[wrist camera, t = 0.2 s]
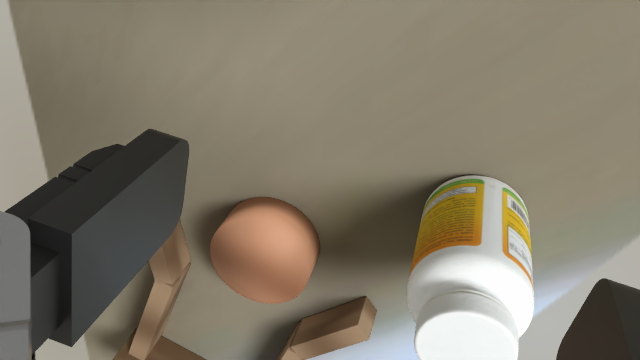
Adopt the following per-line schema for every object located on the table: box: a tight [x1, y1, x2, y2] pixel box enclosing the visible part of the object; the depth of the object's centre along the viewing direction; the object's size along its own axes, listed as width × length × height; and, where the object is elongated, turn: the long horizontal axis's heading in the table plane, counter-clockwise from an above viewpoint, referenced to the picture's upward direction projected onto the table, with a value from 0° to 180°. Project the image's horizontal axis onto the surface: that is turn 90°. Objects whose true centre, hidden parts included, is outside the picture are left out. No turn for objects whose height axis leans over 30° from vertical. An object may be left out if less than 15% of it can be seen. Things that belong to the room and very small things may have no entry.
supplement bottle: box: [407, 175, 534, 360], centre depth 27 cm, size 5×5×10 cm
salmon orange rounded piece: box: [210, 197, 320, 304], centre depth 35 cm, size 6×6×2 cm
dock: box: [113, 219, 377, 360], centre depth 38 cm, size 14×15×4 cm
